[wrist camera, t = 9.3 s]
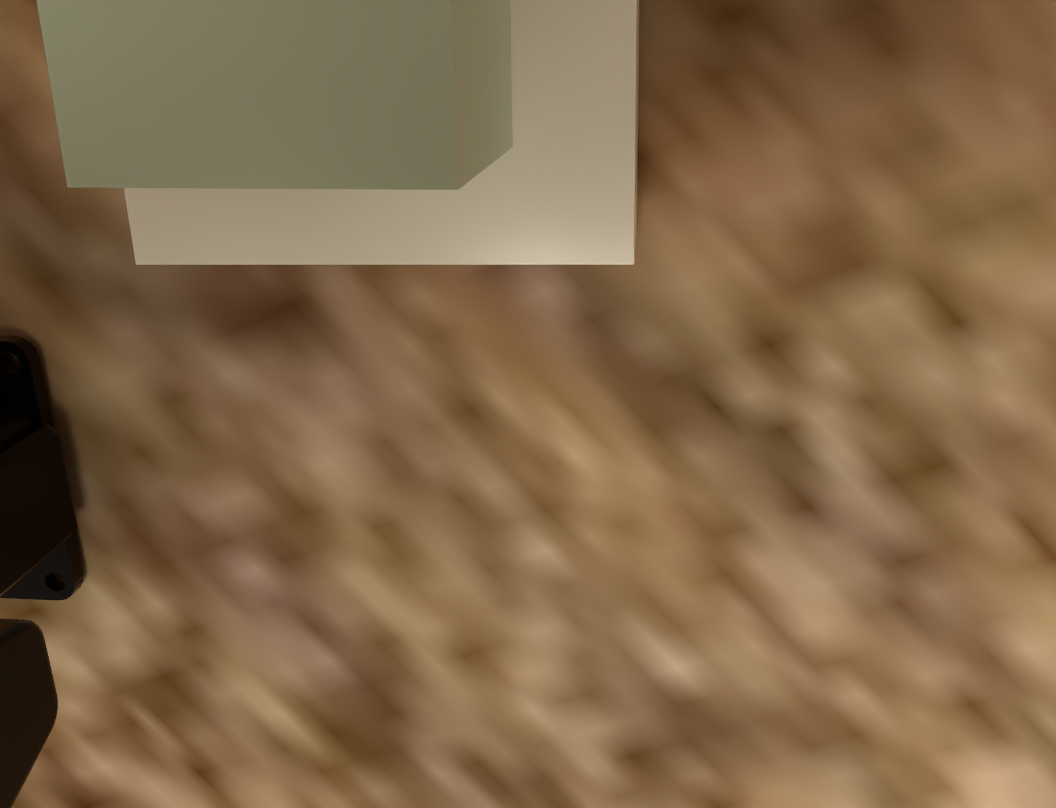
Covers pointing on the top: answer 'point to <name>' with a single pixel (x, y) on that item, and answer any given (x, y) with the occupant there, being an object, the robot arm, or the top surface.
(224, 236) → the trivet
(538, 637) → the top surface
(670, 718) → the top surface
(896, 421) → the top surface
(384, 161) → the cube
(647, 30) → the top surface
